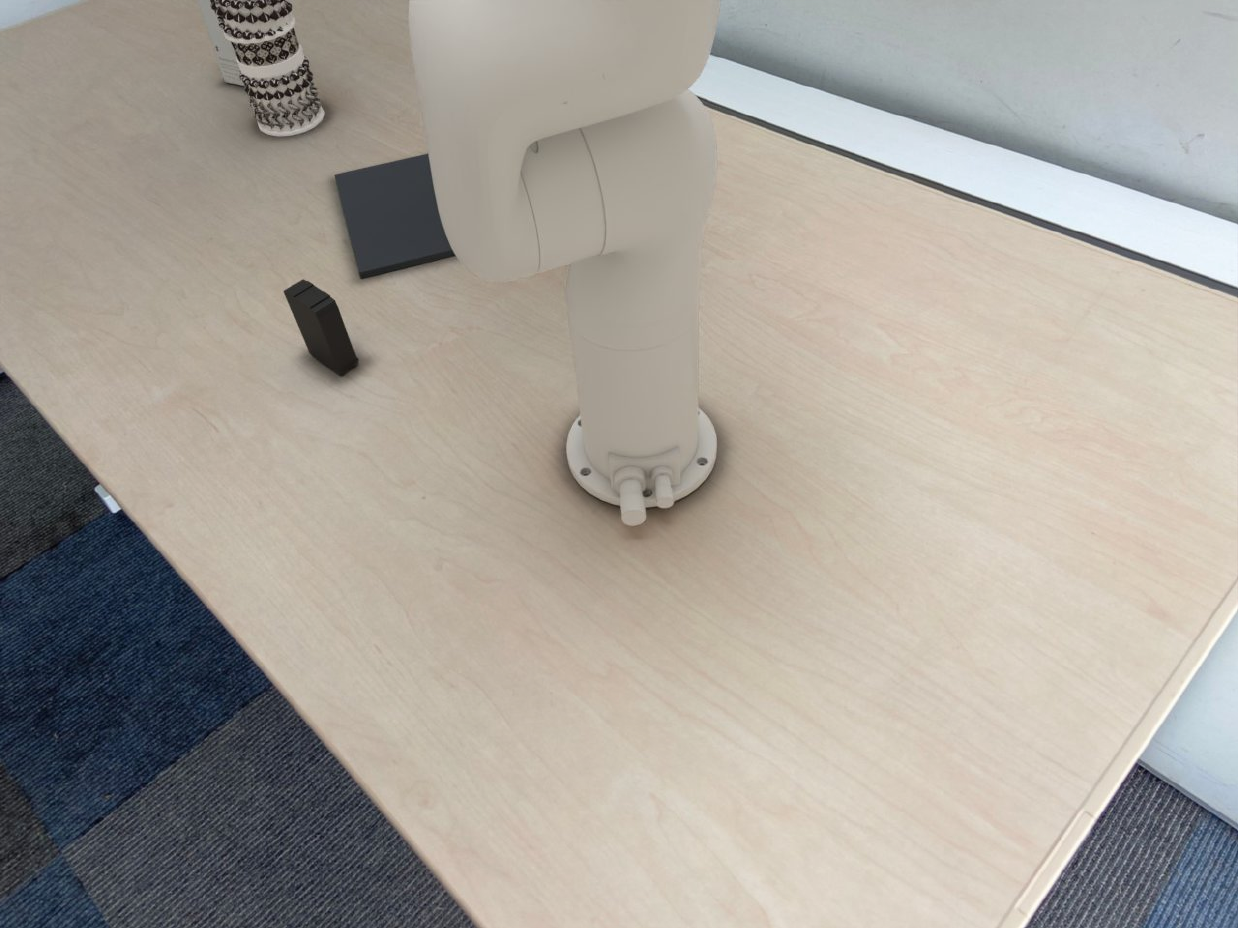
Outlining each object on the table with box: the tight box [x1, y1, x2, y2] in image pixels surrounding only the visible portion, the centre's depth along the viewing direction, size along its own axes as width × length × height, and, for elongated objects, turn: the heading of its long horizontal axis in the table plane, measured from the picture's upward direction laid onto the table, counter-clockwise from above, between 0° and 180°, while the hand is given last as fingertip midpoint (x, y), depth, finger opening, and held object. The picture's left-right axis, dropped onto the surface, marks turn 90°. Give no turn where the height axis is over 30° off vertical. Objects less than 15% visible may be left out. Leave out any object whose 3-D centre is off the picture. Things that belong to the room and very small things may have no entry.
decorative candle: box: [210, 0, 326, 138], centre depth 109 cm, size 9×9×25 cm
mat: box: [333, 153, 456, 279], centre depth 104 cm, size 20×24×1 cm
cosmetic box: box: [196, 0, 245, 87], centre depth 121 cm, size 8×6×15 cm
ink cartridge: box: [282, 278, 360, 376], centre depth 85 cm, size 5×2×8 cm, turn 48°
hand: (460, 29), depth 87 cm, fingers closed on medicine box, 8 cm apart
